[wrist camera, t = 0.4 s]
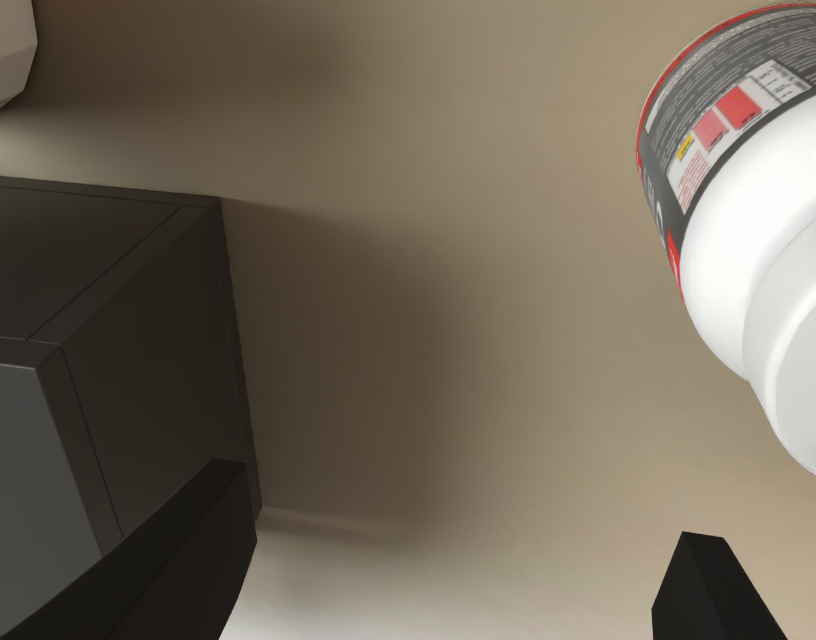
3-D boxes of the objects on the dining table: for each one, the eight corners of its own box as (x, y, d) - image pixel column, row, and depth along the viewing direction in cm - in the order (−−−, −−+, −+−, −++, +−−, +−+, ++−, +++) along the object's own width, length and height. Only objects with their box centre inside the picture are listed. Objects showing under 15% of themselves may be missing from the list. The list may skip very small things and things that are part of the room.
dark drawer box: (262, 507, 27) (162, 725, 20) (7, 466, 28) (-171, 655, 21) (220, 197, 20) (36, 368, 12) (-122, 163, 21) (-462, 299, 14)
